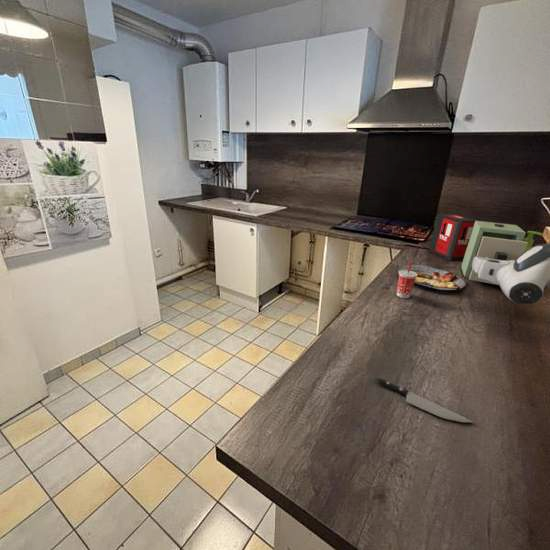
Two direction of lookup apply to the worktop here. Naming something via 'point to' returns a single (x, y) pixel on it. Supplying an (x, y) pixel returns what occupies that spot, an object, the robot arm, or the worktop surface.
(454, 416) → the chef's knife
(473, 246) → the box
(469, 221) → the cleaning product box
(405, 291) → the beverage cup
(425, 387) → the worktop surface
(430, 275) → the food plate
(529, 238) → the soap dispenser
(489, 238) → the basket
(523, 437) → the worktop surface
